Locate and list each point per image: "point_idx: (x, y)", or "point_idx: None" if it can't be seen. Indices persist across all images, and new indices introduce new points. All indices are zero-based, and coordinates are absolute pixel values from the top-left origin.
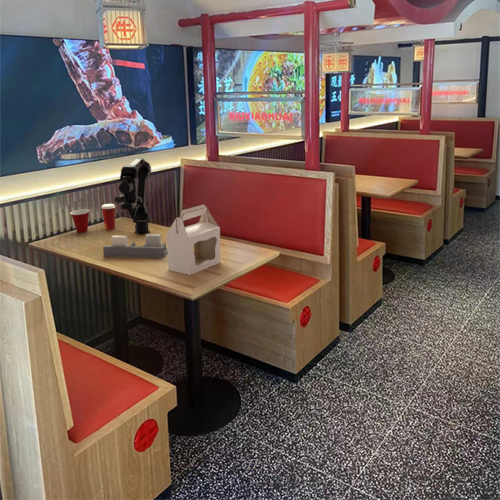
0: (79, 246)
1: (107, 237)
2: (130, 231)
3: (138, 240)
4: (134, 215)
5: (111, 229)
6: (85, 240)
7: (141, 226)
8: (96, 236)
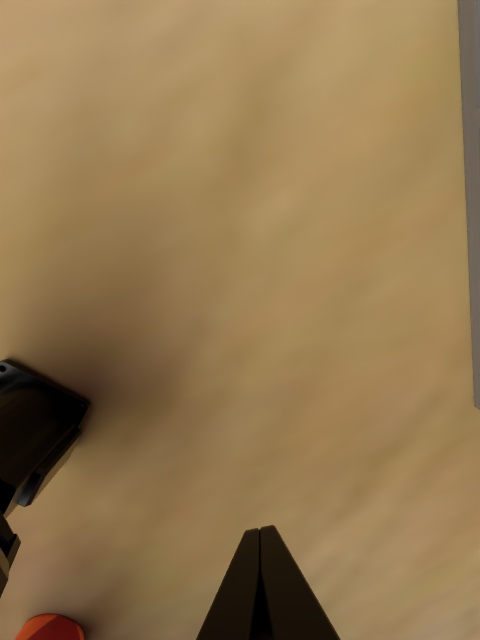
0: (447, 596)
1: None
2: (46, 504)
3: (232, 339)
4: (303, 588)
5: (69, 622)
6: None
7: (21, 440)
8: None
